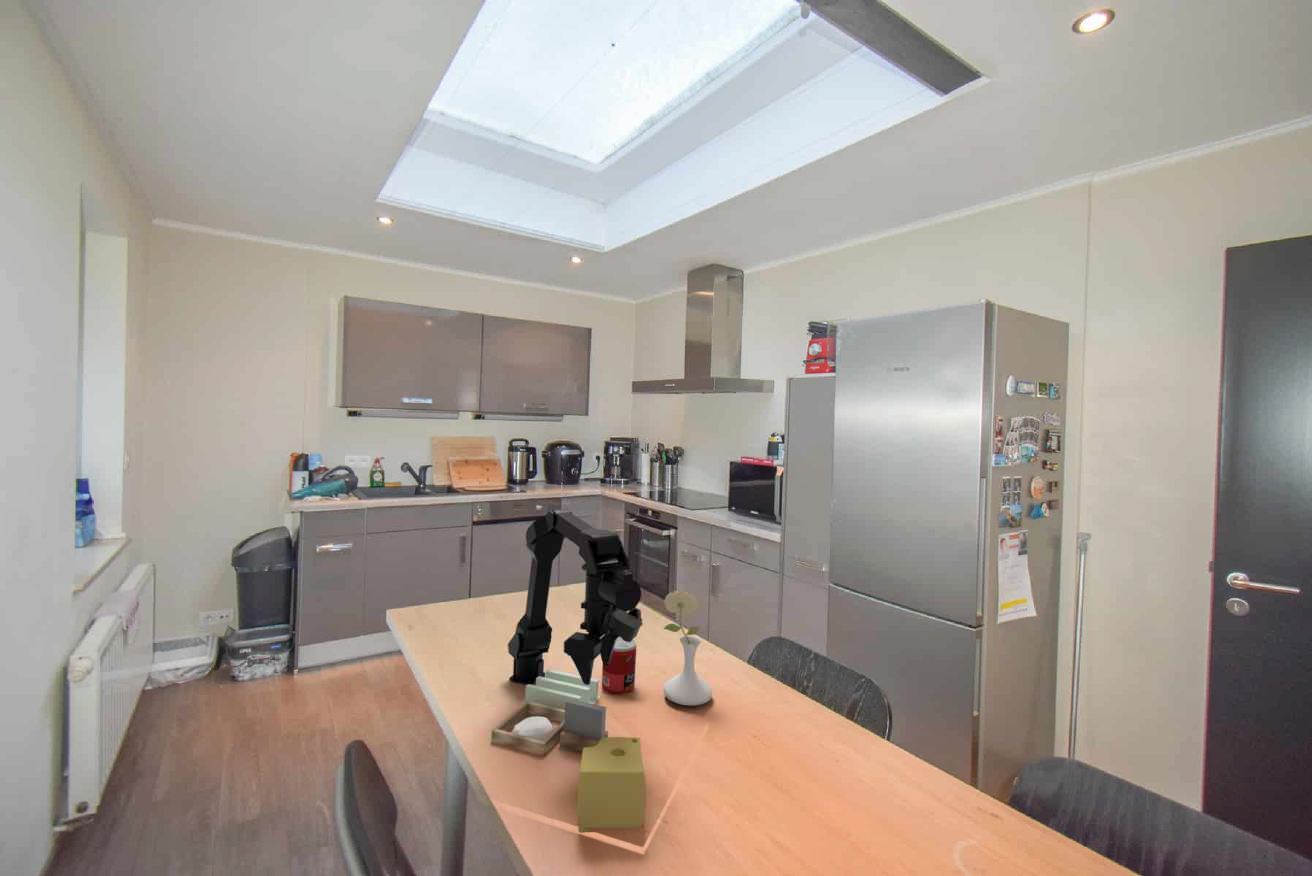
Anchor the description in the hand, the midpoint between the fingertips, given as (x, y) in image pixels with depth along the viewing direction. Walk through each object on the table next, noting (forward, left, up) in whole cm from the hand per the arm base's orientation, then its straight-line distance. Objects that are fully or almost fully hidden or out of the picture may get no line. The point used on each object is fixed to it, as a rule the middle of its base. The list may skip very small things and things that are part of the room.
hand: (596, 674), depth 113 cm
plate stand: (-1, -3, -14) cm, 14 cm away
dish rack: (-13, +10, -14) cm, 21 cm away
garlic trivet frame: (-12, -3, -14) cm, 18 cm away
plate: (-1, -3, -13) cm, 13 cm away
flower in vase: (+11, +25, -14) cm, 31 cm away
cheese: (+11, -17, -14) cm, 25 cm away
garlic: (-12, -4, -14) cm, 19 cm away
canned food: (-5, +23, -14) cm, 27 cm away
